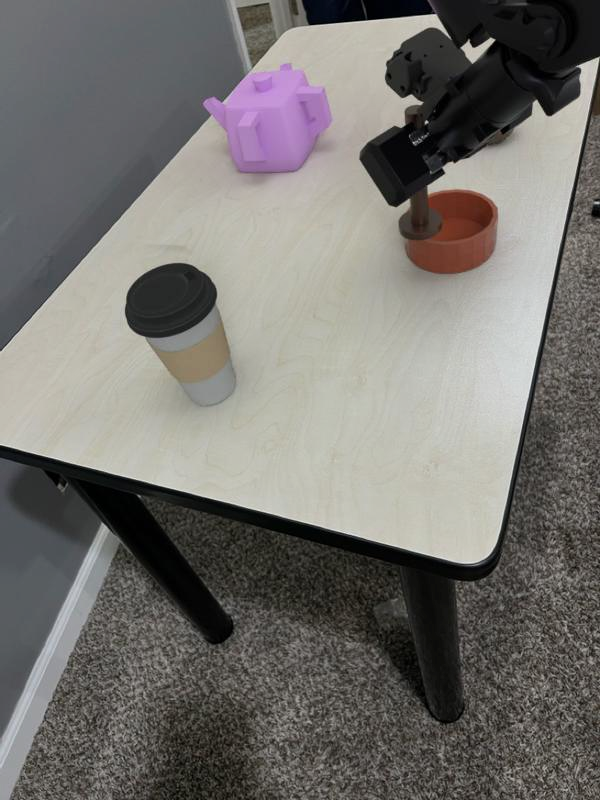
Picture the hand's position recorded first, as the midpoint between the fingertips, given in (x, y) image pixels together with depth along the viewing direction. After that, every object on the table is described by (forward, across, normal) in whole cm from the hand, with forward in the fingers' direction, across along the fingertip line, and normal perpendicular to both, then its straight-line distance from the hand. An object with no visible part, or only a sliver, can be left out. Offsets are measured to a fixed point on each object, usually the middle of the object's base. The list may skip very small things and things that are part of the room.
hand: (408, 169), depth 66 cm
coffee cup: (+12, +30, +7) cm, 33 cm away
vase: (+18, -29, +1) cm, 34 cm away
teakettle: (+38, -8, -19) cm, 43 cm away
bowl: (+9, -6, +10) cm, 15 cm away
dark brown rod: (+4, 0, +6) cm, 7 cm away
